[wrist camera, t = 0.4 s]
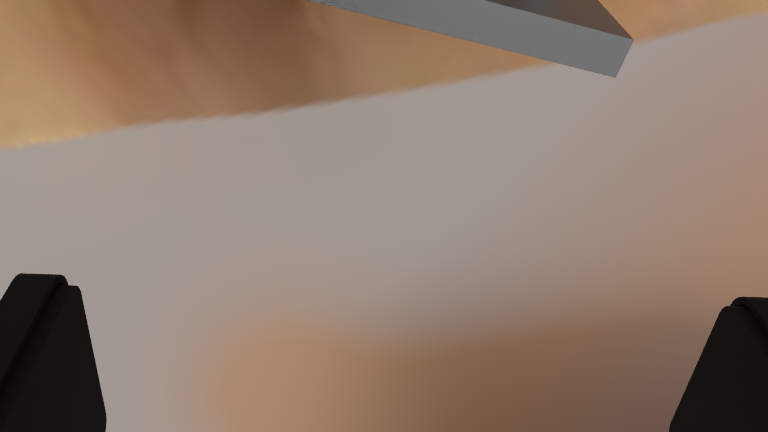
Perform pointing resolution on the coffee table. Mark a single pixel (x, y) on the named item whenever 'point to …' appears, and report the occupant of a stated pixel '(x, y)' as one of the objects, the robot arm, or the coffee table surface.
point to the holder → (516, 27)
